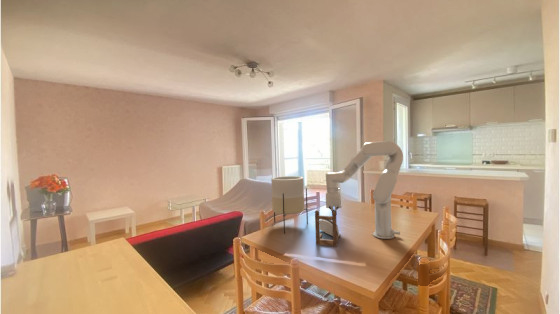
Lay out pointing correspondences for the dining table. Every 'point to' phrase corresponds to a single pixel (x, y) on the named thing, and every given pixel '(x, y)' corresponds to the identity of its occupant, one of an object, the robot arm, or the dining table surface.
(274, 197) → the planter
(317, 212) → the brown wooden frame
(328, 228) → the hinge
